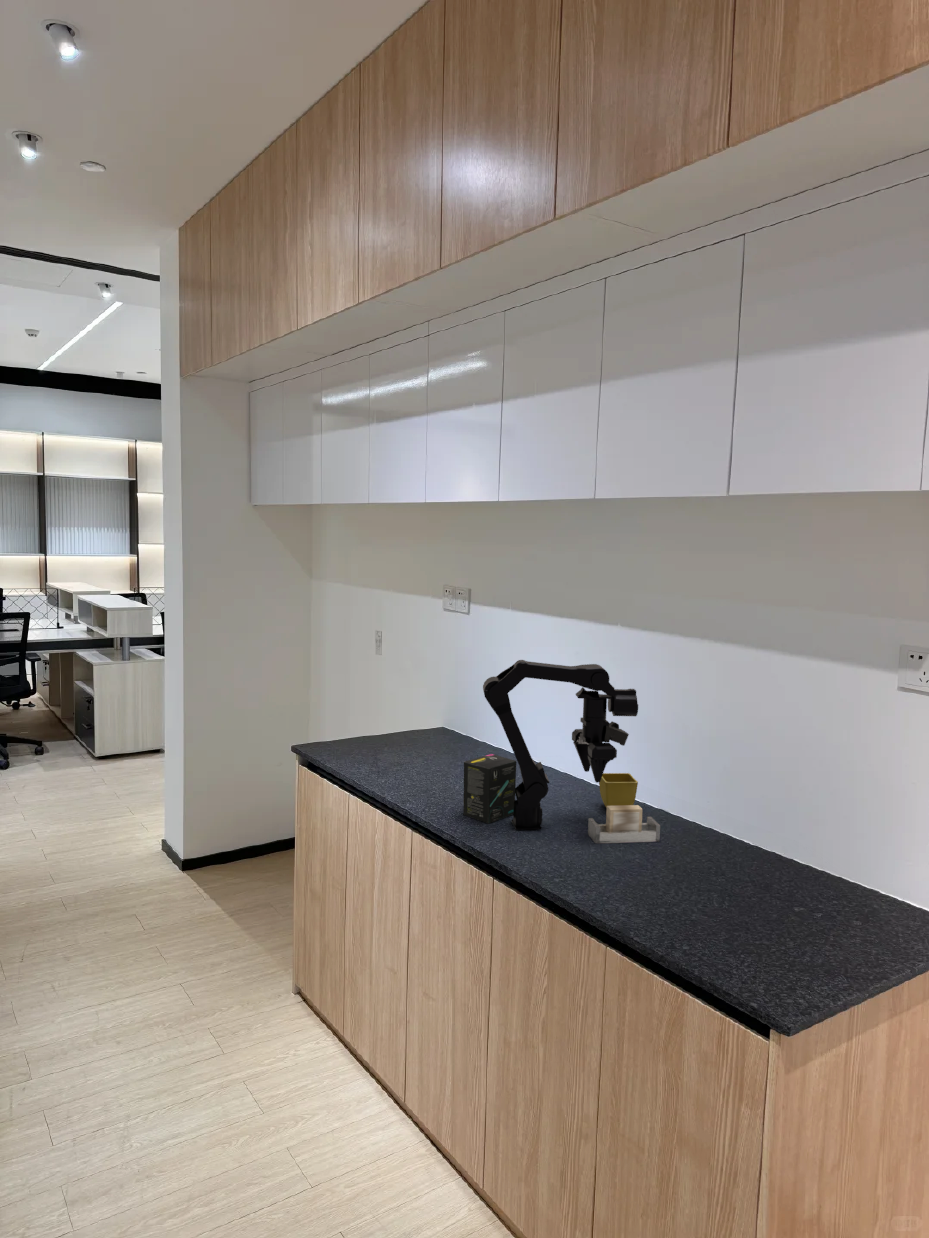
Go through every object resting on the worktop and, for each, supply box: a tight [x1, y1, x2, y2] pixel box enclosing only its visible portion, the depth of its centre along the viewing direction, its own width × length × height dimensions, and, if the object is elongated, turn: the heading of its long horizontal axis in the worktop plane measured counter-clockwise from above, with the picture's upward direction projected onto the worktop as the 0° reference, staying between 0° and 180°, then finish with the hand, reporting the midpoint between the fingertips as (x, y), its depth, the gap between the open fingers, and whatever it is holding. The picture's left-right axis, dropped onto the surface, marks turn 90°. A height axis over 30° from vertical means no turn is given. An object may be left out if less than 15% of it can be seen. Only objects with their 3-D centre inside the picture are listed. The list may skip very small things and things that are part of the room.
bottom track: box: [587, 816, 661, 844], centre depth 202 cm, size 16×6×4 cm, turn 98°
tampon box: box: [462, 753, 517, 825], centre depth 216 cm, size 11×9×15 cm
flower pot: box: [598, 772, 639, 809], centre depth 223 cm, size 9×9×9 cm
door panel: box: [605, 804, 643, 832], centre depth 202 cm, size 8×3×7 cm, turn 98°
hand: (592, 776), depth 208 cm, fingers open, 9 cm apart
